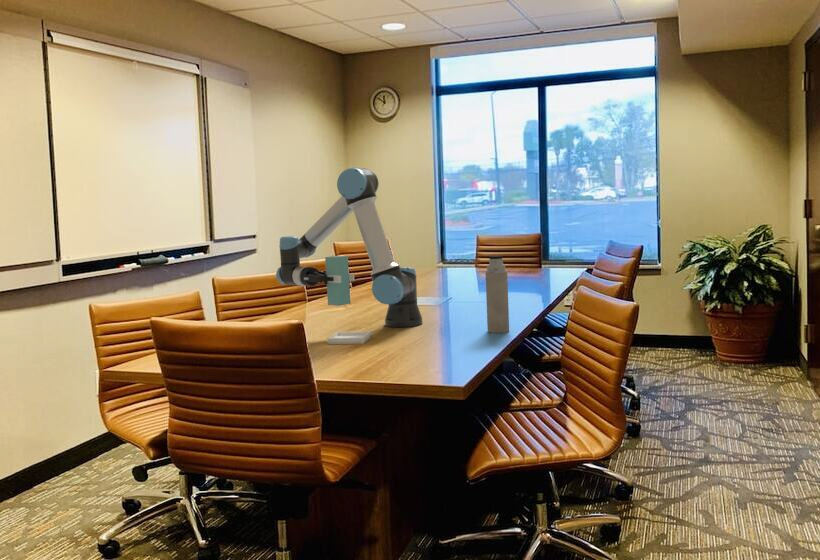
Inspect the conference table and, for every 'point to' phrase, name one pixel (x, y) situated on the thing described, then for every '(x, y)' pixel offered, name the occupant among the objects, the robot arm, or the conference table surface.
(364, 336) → the tray
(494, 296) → the thermos bottle
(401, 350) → the conference table surface
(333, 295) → the teal post
